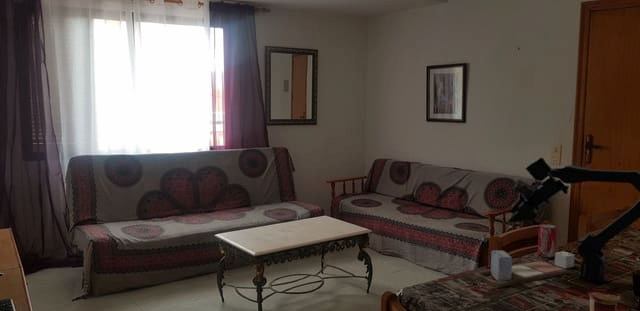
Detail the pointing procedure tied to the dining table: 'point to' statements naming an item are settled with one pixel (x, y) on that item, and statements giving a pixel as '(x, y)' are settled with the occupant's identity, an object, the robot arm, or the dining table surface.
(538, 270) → the board
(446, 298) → the dining table surface
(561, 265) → the die
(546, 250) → the beverage can
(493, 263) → the medicine box
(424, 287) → the dining table surface
